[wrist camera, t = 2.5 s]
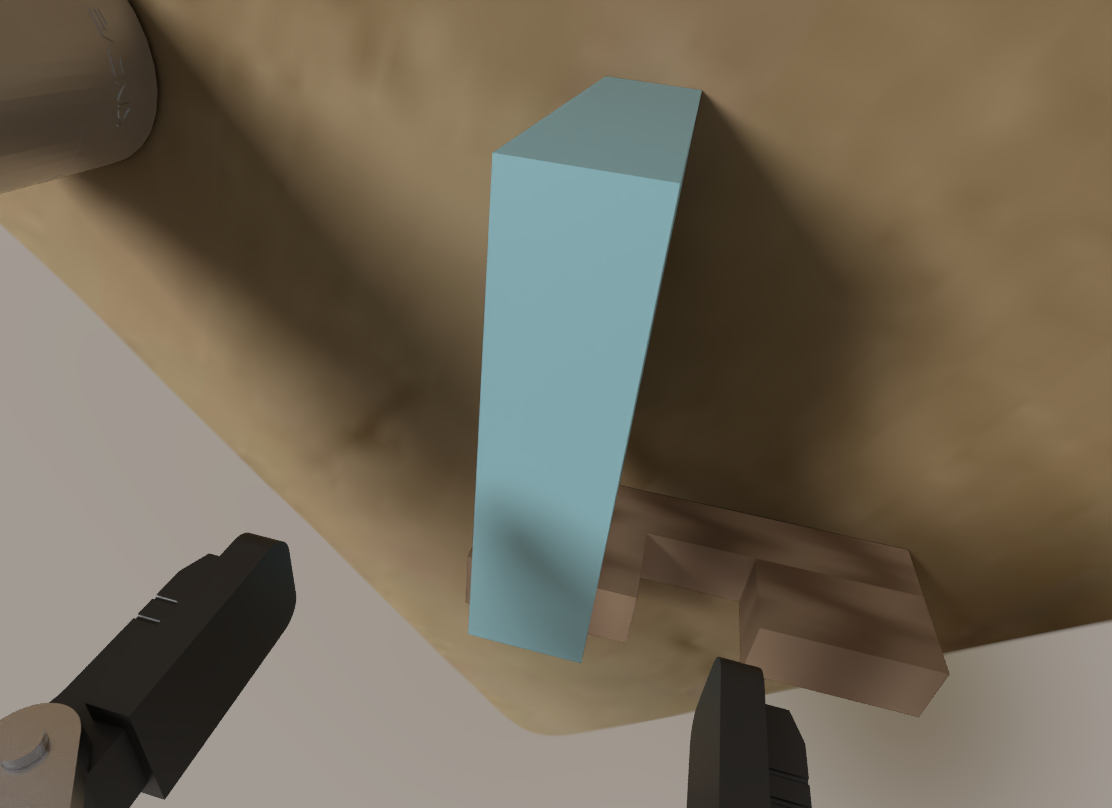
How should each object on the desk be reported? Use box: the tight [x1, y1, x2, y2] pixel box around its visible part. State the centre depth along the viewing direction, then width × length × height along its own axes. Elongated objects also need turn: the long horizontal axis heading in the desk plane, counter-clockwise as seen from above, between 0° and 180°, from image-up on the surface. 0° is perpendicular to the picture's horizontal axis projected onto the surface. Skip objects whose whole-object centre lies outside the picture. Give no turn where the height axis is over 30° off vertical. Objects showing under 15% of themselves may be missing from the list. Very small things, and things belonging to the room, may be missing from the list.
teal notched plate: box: [468, 76, 702, 663], centre depth 21 cm, size 14×4×14 cm, turn 173°
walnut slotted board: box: [466, 486, 949, 717], centre depth 31 cm, size 20×3×7 cm, turn 83°
